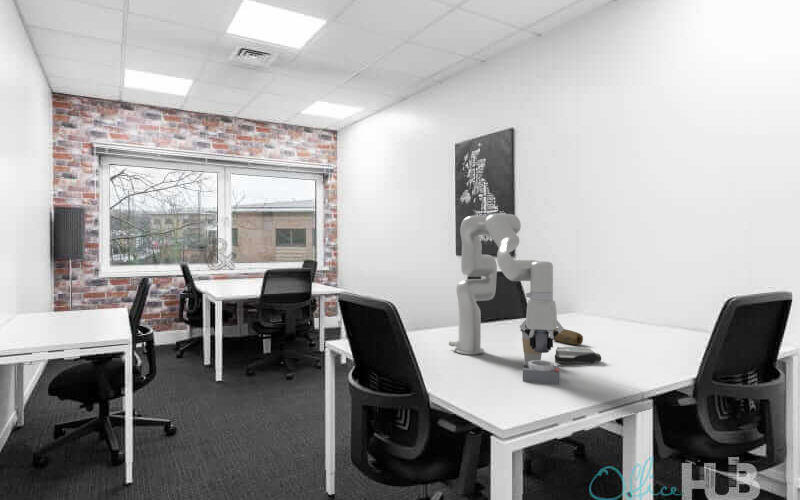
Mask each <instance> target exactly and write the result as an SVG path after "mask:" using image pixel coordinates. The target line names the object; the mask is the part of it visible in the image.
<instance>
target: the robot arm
mask: <svg viewBox="0 0 800 500" xmlns="http://www.w3.org/2000/svg"><path fill="white" fill-rule="evenodd" d="M460 224H461V225H460V229H459V230H460V232H459V233H460V238H461V257H460V258H461V261H460V262H461V263H460V264H461V265H460V268H461V269H460V270H461V273H462V275H464V276H465V277H480V278H471V279H468V278H467V279H463V280H461V281H459V282H458V283H457V285H456V289H455V290H456V296H457V303H458V340H456V341H451V340H449V341H448V346H450V347H455V348H454V352H456V353H457V354H462V355H466V356H467V355H469V356H471V355H474V356H475V355H482V354H484V353H485V349H484V348H483V347H481V344H482V343H481V340H482V339H481V338H482V337H481V335H482V334H481V332H482V331H481V325H482V324H481V322H482V321H481V317H482V316H481V315H482V314H481V313H482V311H481V308H480V307H479V305H478V303H477V302H480V301H481V302H483V301H490V300H493V299H494V297H495V295H496V291H497V289H496V288H497V275H498V267H499V269H500V271H501V272H502V275H504V276H505V278H506V279H508V280H509V281H511V282H529V283H530V287H529V289H530V292H526V293H525V297H527V298H529V300H528V301H527V305H526V315H525V316H526V318H525V319H524V321H523V322H522V323H521V324H520V325H519V329H520V330H521V329H522V330H523V331H524V332H525V333H526V334H527V335H528V336H529V337H530V346H532V349H534V335H533V333H534V330H547V331H549V351H552V348H554V340H553V338H554V337H555V336H556V335H557V334H558V333H560V332H561V331H563V330H564V329H565V328H564V327H563V325H562V324H561V323H560V322H559V320H558V316H557V304H556V301H555V300H554V297H553V296H554V293H553V291H554V288H553V287H554V264H553V263H552V262H550V261H542V260H541V261H540V260H534V259H533V260H532V259H519V260H515V259H514V258H513V256H512V255H511V254H510V253H511V252H513V251H514V250H516V248H517V247H518V246H519V245H520V238H519V236H518V233H519V232H520V231H521V225H522V224H521V221H520V219H519V217H518V216H517V215H515V214H511V213H492V214H490V215H482V214H481V215H477V214H476V215H469V216H466V217H465V218H464V219H463V220H462V221H461V223H460ZM478 236H479V237H480V236H482V237H486V236H487V237H489V236H490V237H491V239H492V240H493V242H494V243H495V245H496V246H497V248H498V250H497V254H496V259H497V260H496V259H495V258H494V257H493V256H492V255H490V254H483V253H482V250H483V247H482V241H481V239H480V238H479V237H478ZM525 325H526V326H527V328H528V329H531V330H530V331H529V330H528V329H527V328H526V327H525ZM556 328H558V329H557V330H556V331H554V332H553V330H555V329H556Z"/></svg>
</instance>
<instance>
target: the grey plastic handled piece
mask: <svg viewBox="0 0 800 500" xmlns="http://www.w3.org/2000/svg"><path fill="white" fill-rule="evenodd" d="M601 361H602V356H601V354H599V353H598V352H597V353H596V352H595V351H594V350H592V349H591V348H588V347H584V346H557V348H556V349H555V355H554V362H555V364H557V363H559V364H561V363H563V364H568V363H569V364H571V363H572V364H596V362H597V363H600V362H601Z"/></svg>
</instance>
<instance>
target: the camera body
mask: <svg viewBox="0 0 800 500" xmlns="http://www.w3.org/2000/svg"><path fill="white" fill-rule="evenodd" d="M522 382H527V383H528V382H529V383H540V384H550V385H560V365H555V363H554V362H553V361H548V360H544V359H543V360H542V359H541V360H532V361H529V362H528V363H525V362H523V366H522Z"/></svg>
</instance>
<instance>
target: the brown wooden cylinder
mask: <svg viewBox="0 0 800 500" xmlns="http://www.w3.org/2000/svg"><path fill="white" fill-rule="evenodd" d="M557 329H558V327H557V328H556V329H555V330H553V332H554V331H556V330H557ZM553 341H554V342H558V343H561V344H566V345H574V346H578V345H582V344H583V342H584V336H583V334H581V333H579V332H577V331H574V330H570V329H565V328H564V330H563V331H561V332H560V333H558V334H557V335H556V336H555V337H554V338H553Z"/></svg>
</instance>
